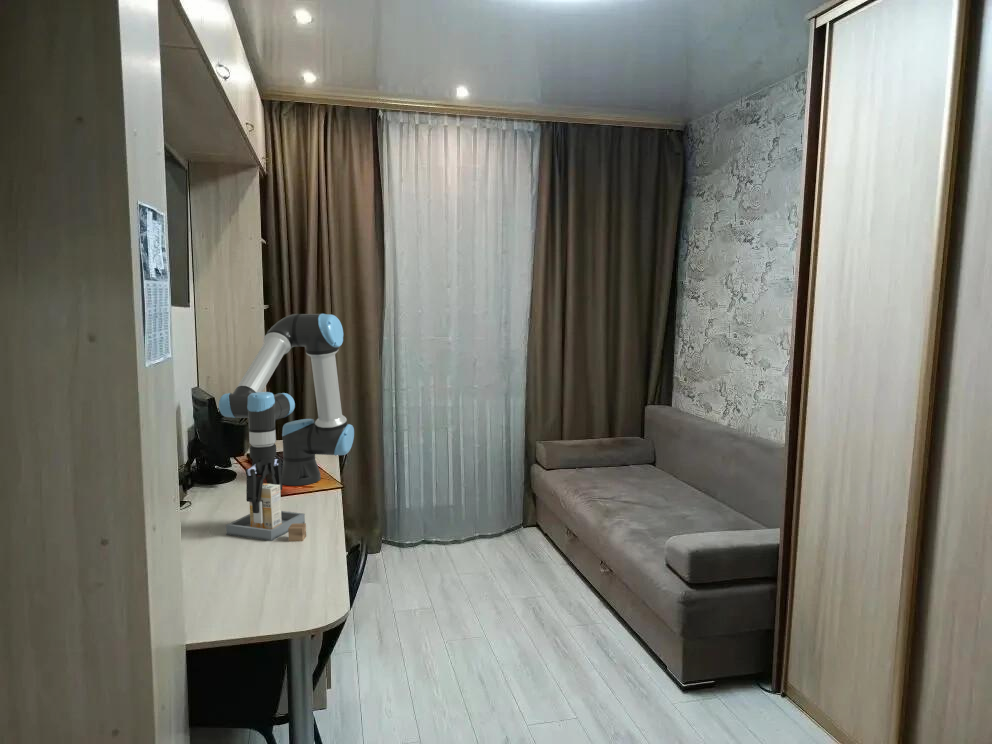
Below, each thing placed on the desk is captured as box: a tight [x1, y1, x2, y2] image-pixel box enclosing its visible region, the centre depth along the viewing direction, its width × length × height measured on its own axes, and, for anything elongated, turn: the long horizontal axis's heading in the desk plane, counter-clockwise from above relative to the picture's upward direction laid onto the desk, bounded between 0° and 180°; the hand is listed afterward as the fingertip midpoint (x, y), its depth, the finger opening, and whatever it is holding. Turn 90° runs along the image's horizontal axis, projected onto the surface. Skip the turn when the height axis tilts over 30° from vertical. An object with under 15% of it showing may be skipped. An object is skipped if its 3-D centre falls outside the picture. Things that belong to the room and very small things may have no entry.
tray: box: [225, 510, 305, 542], centre depth 199 cm, size 16×16×3 cm
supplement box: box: [248, 482, 282, 529], centre depth 198 cm, size 8×5×13 cm, turn 71°
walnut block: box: [287, 523, 307, 542], centre depth 191 cm, size 4×4×4 cm
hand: (266, 518), depth 199 cm, fingers open, 6 cm apart
